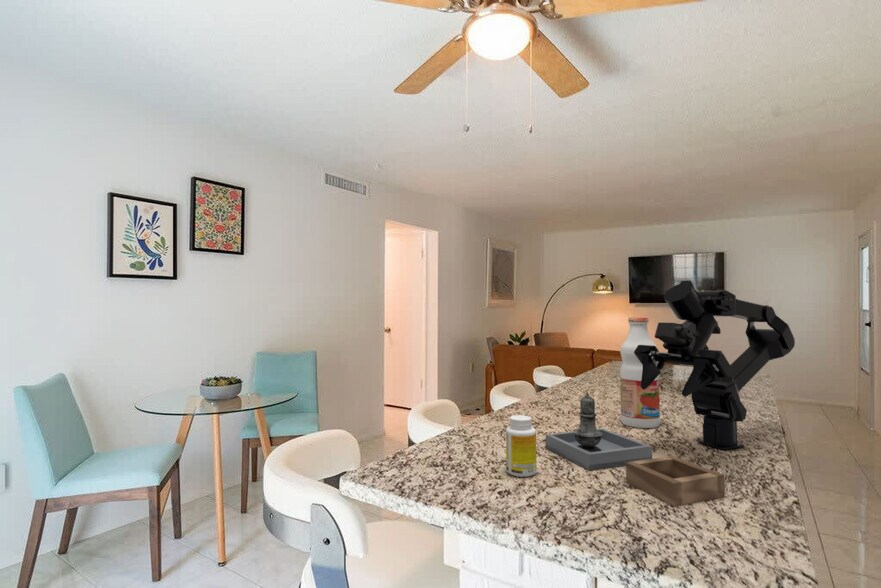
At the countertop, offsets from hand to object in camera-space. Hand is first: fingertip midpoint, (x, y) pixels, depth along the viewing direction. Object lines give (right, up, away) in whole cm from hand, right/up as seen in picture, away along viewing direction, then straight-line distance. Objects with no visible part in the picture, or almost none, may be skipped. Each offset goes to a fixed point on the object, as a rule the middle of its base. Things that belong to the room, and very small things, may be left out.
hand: (662, 391), depth 95 cm
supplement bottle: (-30, -14, -8) cm, 34 cm away
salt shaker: (-14, -13, +3) cm, 19 cm away
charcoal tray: (-12, -14, +3) cm, 19 cm away
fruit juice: (+7, -15, +28) cm, 32 cm away
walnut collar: (-6, -13, -16) cm, 21 cm away
